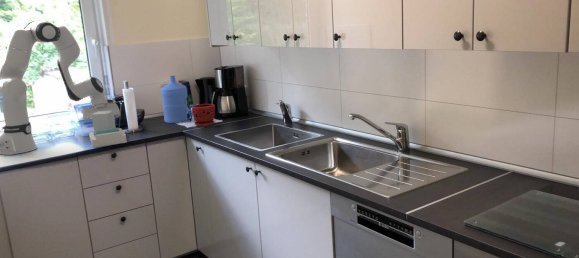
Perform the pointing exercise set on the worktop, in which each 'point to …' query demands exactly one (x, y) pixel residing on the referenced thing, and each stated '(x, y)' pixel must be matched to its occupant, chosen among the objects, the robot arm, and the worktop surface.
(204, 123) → the plant pot
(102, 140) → the white tray
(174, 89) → the water jug
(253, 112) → the worktop surface
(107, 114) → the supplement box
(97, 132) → the pusher
